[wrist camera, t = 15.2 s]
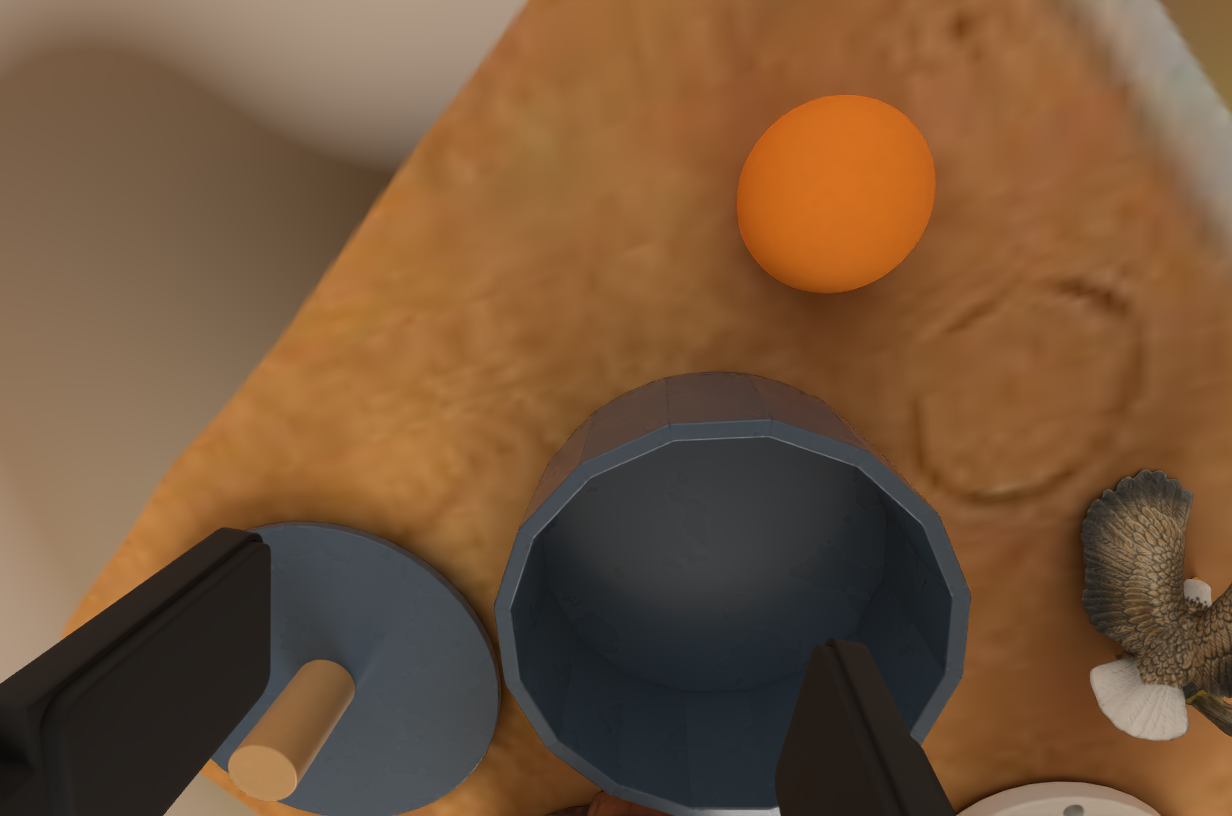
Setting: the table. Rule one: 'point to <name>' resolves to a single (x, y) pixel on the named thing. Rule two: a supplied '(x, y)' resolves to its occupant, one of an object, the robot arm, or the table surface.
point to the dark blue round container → (717, 588)
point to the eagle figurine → (1154, 613)
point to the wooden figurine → (611, 808)
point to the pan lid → (363, 679)
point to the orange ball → (836, 194)
